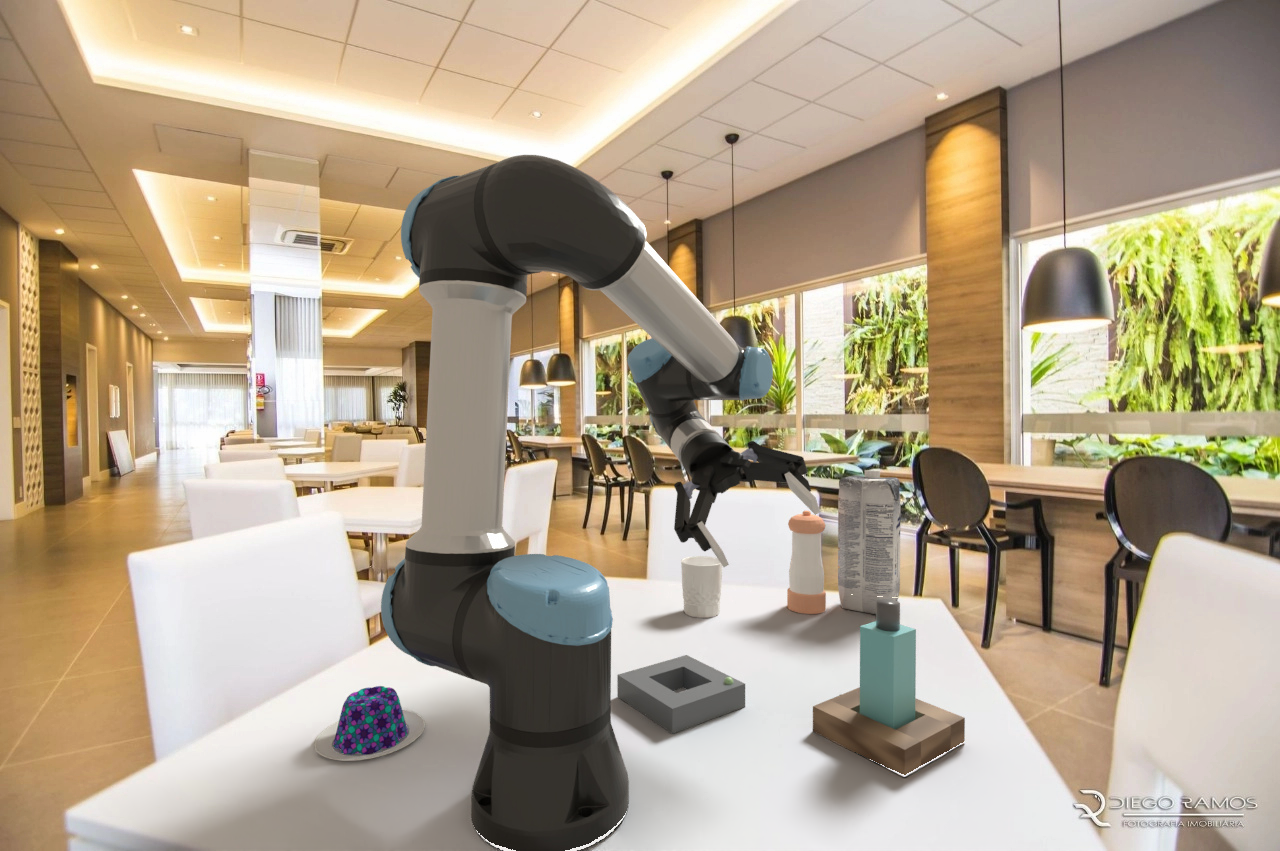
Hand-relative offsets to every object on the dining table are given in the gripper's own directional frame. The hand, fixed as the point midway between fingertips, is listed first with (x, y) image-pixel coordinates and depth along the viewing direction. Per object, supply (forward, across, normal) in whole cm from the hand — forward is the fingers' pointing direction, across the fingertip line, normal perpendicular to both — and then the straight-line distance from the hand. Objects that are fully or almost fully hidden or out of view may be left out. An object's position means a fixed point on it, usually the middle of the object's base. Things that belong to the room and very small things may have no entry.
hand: (769, 532), depth 80 cm
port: (+4, +20, -15) cm, 26 cm away
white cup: (-26, +12, -38) cm, 47 cm away
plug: (+19, 0, -19) cm, 27 cm away
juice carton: (-18, -17, -51) cm, 57 cm away
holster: (+19, 0, -19) cm, 27 cm away
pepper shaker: (-22, -7, -46) cm, 52 cm away
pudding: (0, +54, +3) cm, 54 cm away
